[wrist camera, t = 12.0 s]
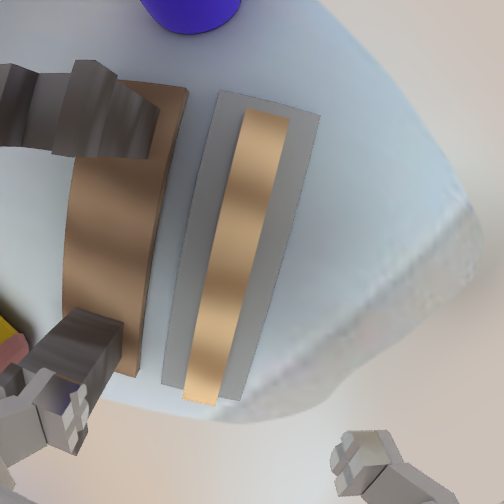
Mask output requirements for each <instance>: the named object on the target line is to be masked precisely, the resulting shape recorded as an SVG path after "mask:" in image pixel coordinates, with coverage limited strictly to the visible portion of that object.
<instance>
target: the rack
mask: <svg viewBox="0 0 504 504" xmlns="http://www.w3.org/2000/svg"><path fill="white" fill-rule="evenodd" d="M117 76H118V75H116V74H115V73H114V72H112V71H111V70H109V69H108V68H106V67H105V66H103V65H102V64H100V63H99V62H97V61H96V60H75V63H74V66H73V69H72V72H71V73H36V72H34V71H31V70H28V69H26V68H23V67H20V66H18V65H15V64H12V63H10V64H1V65H0V146H7V147H27V148H35V149H43V150H50V151H52V153H51V154H54V155H61V156H67V157H76V158H75V163H74V169H73V175H72V181H71V188H70V195H69V202H68V211H67V220H66V230H65V242H64V257H63V285H62V313H63V319H62V320H61V321H60V322H59V323H58V324H57V325H56V326H55V327H54V328H53V329H52V330H51V331H50V332H49V333H48V334H47V335H46V336H45V337H44V338H43V339H42V340H41V341H40V342H39V343H38V344H37V345H36V346H35V347H34V348H33V349H32V350H31V351H30V352H29V353H28V354H27V355H26V356H25V357H24V358H23V359H22V360H21V361H20V362H19V363H18V364H17V365H16V364H14V363H12V362H11V363H10V364H9V365H8V366H7V367H6V368H5V369H4V370H3V371H2V372H1V374H0V399H3V398H6V397H10V396H13V395H15V396H17V397H18V396H19V394H20V393H21V392H22V391H23V389H24V388H25V387H26V386H27V384H28V383H29V382H30V381H31V379H32V378H33V377H34V376H35V375H36V373H37V372H38V371H39V370H40V369H42V368H47V369H49V370H51V371H53V372H56V373H59V374H61V375H63V376H66V377H68V378H71V379H73V380H76V381H78V382H81V383H83V384H85V385H86V388H87V394H86V396H85V399H86V401H87V402H88V405H89V414H88V417H89V415H90V414H91V412H92V410H93V408H94V406H95V404H96V403H97V401H98V399H99V397H100V395H101V393H102V392H103V390H104V388H105V386H106V384H107V383H108V381H109V379H110V377H111V376H112V374H113V372H118V373H121V374H124V375H127V376H131V377H134V378H136V375H137V373H138V371H139V367H140V355H141V344H142V334H143V324H144V315H145V307H146V299H147V291H148V284H149V277H150V270H151V263H152V257H153V251H154V245H155V239H156V233H157V227H158V222H159V217H160V211H161V206H162V201H163V196H164V191H165V187H166V182H167V177H168V173H169V168H170V164H171V159H172V155H173V151H174V147H175V143H176V139H177V135H178V131H179V127H180V123H181V119H182V115H183V112H184V108H185V104H186V101H187V97H188V94H189V92H188V91H187V89H186V88H183V87H176V86H169V85H162V84H154V83H146V82H137V81H127V80H116V79H117ZM87 419H88V418H87ZM87 433H88V428H87V422H86V425H85V427H84V429H83V430H81V431H79V432H77V435H78V441H77V443H76V445H75V447H74V449H73V451H72V453H70V454H73V455H75V456H77V454H78V452H79V449H80V447H81V446H82V443H83V441H84V439H85V437H86V435H87ZM65 452H66V451H65Z"/></svg>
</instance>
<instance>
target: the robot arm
mask: <svg viewBox="0 0 504 504" xmlns="http://www.w3.org/2000/svg"><path fill="white" fill-rule="evenodd" d="M86 394H87V388H86V385H85V384H83V383H81V382H78V381H76V380H73V379H71V378H68V377H66V376H63V375H61V374H59V373H56V372H53V371H51V370H49V369H47V368H42V369H40V370H39V371H38V372H37V373H36V375H35V376H34V377H33V378H32V379H31V381H30V382H29V383H28V384H27V386H26V387H25V388H24V389H23V391H22V392H21V393H20V394H19V396H18V397H17V396H15V395H13V396H10V397H6V398H3V399H0V504H37V503H35V502H33V501H31V500H29V499H27V498H26V497H24V496H22V495H20V494H18V493H16V492H15V491H13V489H14V487H15V481H14V479H13V477H12V475H11V474H10V472H9V470H8V467H10V466H11V465H13V464H15V463H17V462H19V461H20V460H22V459H24V458H26V457H28V456H30V455H31V454H33V453H35V452H37V451H38V450H40V449H42V448H44V447H46V446H47V444H48V445H51V446H53V447H56V448H58V449H61V450H63V451H66V452H68V453H72V451H73V449H74V447H75V445H76V443H77V441H78V435H77V432H79V431H81V430H83V429H84V427H85V425H86V422H87V418H88V414H89V405H88V402H87V401H86V399H85V396H86ZM341 440H342V443H340V444H339V445H337V446H335V448H334V450H333V452H332V454H331V458H330V467H331V471H332V472H333V473H334V474H335V475H336V476H337V478H336V480H335V481H334V482H335V486H336V490H337V493H338V496H339V497H340V496H358V495H361V497H362V498H363V499H364V500H365V501H366V502H367V503H368V504H459V502H458V501H457V499H456V497H455V495H454V493H452V492H451V491H449V490H448V489H446V488H445V487H443V486H441V485H440V484H438V483H437V482H435V481H434V480H433V479H431V478H430V477H428V476H427V475H425V474H424V473H422V472H421V471H419V470H418V469H416V468H415V467H413V466H412V465H411V464H409V463H404V461H403V459H402V456H401V455H400V452H399V450H398V448H397V446H396V444H395V442H394V440H393V438H392V436H391V434H390V432H389V431H387V430H374V431H372V430H369V431H346V432H345V433H344V434H343V436H342V437H341ZM499 504H504V501H503V502H501V503H499Z"/></svg>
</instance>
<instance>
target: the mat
mask: <svg viewBox="0 0 504 504" xmlns="http://www.w3.org/2000/svg"><path fill="white" fill-rule="evenodd" d="M246 108H249V109H253V110H257V111H262V112H266V113H269V114H273V115H277V116H281V117H285V118H288V119H290V121H289V125H288V129H287V133H286V137H285V141H284V144H283V148H282V152H281V156H280V160H279V164H278V168H277V172H276V176H275V179H274V183H273V187H272V191H271V195H270V199H269V203H268V207H267V210H266V214H265V218H264V222H263V226H262V230H261V234H260V237H259V241H258V245H257V249H256V253H255V257H254V261H253V264H252V268H251V272H250V276H249V280H248V284H247V287H246V291H245V295H244V299H243V303H242V307H241V310H240V314H239V318H238V322H237V326H236V329H235V333H234V337H233V341H232V345H231V348H230V352H229V356H228V360H227V364H226V367H225V371H224V375H223V379H222V383H221V386H220V390H219V394H218V397H221V398H226V399H232V400H237V401H240V399H241V396H242V393H243V390H244V386H245V383H246V380H247V377H248V374H249V371H250V367H251V364H252V361H253V358H254V355H255V351H256V348H257V345H258V341H259V338H260V335H261V332H262V328H263V325H264V322H265V318H266V315H267V312H268V308H269V305H270V301H271V298H272V295H273V291H274V288H275V284H276V281H277V277H278V274H279V270H280V267H281V263H282V260H283V256H284V253H285V249H286V246H287V242H288V238H289V235H290V231H291V228H292V224H293V220H294V217H295V213H296V209H297V206H298V202H299V198H300V194H301V191H302V187H303V183H304V179H305V175H306V172H307V168H308V164H309V160H310V156H311V152H312V148H313V144H314V140H315V136H316V132H317V128H318V124H319V120H320V115H317V114H314V113H311V112H307V111H304V110H300V109H297V108H293V107H290V106H286V105H283V104H279V103H275V102H271V101H267V100H263V99H259V98H255V97H251V96H246V95H242V94H237V93H233V92H228V91H223V90H220V91H219V95H218V99H217V102H216V106H215V109H214V113H213V117H212V121H211V124H210V128H209V132H208V136H207V140H206V144H205V148H204V152H203V156H202V160H201V164H200V168H199V173H198V177H197V181H196V186H195V190H194V194H193V199H192V204H191V208H190V213H189V218H188V222H187V227H186V232H185V237H184V242H183V247H182V252H181V258H180V263H179V268H178V274H177V279H176V285H175V291H174V297H173V303H172V309H171V315H170V322H169V328H168V335H167V342H166V349H165V356H164V364H163V371H162V379H161V384H163V385H167V386H171V387H175V388H179V389H183V390H184V386H185V380H186V375H187V369H188V364H189V358H190V353H191V348H192V343H193V337H194V332H195V327H196V322H197V317H198V312H199V307H200V302H201V297H202V293H203V288H204V283H205V278H206V274H207V269H208V265H209V260H210V255H211V251H212V246H213V242H214V237H215V233H216V229H217V224H218V220H219V216H220V211H221V207H222V203H223V199H224V194H225V190H226V186H227V182H228V178H229V174H230V170H231V166H232V162H233V158H234V154H235V150H236V146H237V142H238V138H239V134H240V130H241V127H242V123H243V119H244V115H245V112H246Z"/></svg>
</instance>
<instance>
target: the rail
mask: <svg viewBox="0 0 504 504" xmlns="http://www.w3.org/2000/svg"><path fill="white" fill-rule="evenodd" d="M289 121H290V119H288V118H285V117H281V116H277V115H273V114H269V113H266V112H262V111H257V110H253V109H249V108H246V112H245V115H244V119H243V123H242V127H241V130H240V134H239V138H238V142H237V146H236V150H235V154H234V158H233V162H232V166H231V170H230V174H229V178H228V182H227V186H226V190H225V194H224V199H223V203H222V207H221V211H220V216H219V220H218V224H217V229H216V233H215V237H214V242H213V246H212V251H211V255H210V260H209V265H208V269H207V274H206V278H205V283H204V288H203V293H202V297H201V302H200V307H199V312H198V317H197V322H196V327H195V332H194V337H193V343H192V348H191V353H190V358H189V364H188V369H187V375H186V380H185V386H184V391H183V397H182V399H184V400H188V401H193V402H197V403H202V404H207V405H212V406H215V405H216V402H217V398H218V394H219V390H220V386H221V383H222V379H223V375H224V371H225V367H226V364H227V360H228V356H229V352H230V348H231V345H232V341H233V337H234V333H235V329H236V326H237V322H238V318H239V314H240V310H241V307H242V303H243V299H244V295H245V291H246V287H247V284H248V280H249V276H250V272H251V268H252V264H253V261H254V257H255V253H256V249H257V245H258V241H259V237H260V234H261V230H262V226H263V222H264V218H265V214H266V210H267V207H268V203H269V199H270V195H271V191H272V187H273V183H274V179H275V176H276V172H277V168H278V164H279V160H280V156H281V152H282V148H283V144H284V141H285V137H286V133H287V129H288V125H289Z"/></svg>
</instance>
